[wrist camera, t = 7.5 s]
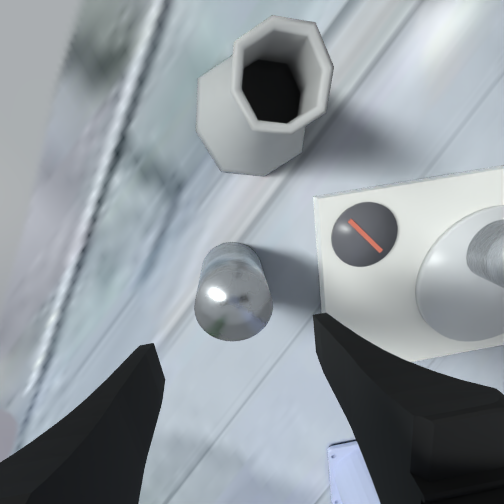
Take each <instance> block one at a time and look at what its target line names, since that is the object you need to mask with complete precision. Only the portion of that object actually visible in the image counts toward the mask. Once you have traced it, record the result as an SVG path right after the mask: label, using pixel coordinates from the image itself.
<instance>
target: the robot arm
mask: <svg viewBox="0 0 504 504" xmlns="http://www.w3.org/2000/svg"><path fill="white" fill-rule="evenodd" d="M313 321H314V333H315V345H316V353H317V356H318V359H319V362H320V364H321V367H322V370H323V372H324V374H325V376H326V378H327V380H328V382H329V384H330V386H331V388H332V390H333V392H334V394H335V396H336V398H337V400H338V402H339V404H340V406H341V408H342V410H343V412H344V414H345V415H346V417H347V420H348V422H349V424H350V426H351V428H352V431H353V433H354V436H355V438H356V441H354V442H349V443H344V444H339V445H334V446H330V447H329V448H328V450H327V453H328V465H329V478H330V490H331V502H332V504H504V395H503V394H502V393H501V392H500V391H498V390H497V389H495V388H491V387H487V386H483V385H480V384H476V383H472V382H468V381H464V380H460V379H457V378H453V377H450V376H447V375H444V374H441V373H438V372H435V371H432V370H429V369H426V368H424V367H421V366H419V365H416V364H414V363H411V362H409V361H406V360H404V359H402V358H400V357H398V356H396V355H394V354H391V353H389V352H387V351H385V350H383V349H382V348H380V347H378V346H376V345H374V344H373V343H371V342H369V341H367V340H366V339H364V338H363V337H361V336H359V335H358V334H356V333H355V332H353V331H352V330H350V329H349V328H347V327H346V326H344V325H343V324H342V323H340V322H339V321H337V320H336V319H335V318H333V317H332V316H330V315H329V314H328V313H321V314H315V315H313ZM164 384H165V377H164V374H163V371H162V368H161V365H160V362H159V358H158V355H157V352H156V349H155V346H154V343H151V344H146V345H140V346H139V347H138V348H137V349H136V350H135V351H134V352H133V353H132V354H131V355H130V356H129V357H128V358H127V359H126V360H125V361H124V362H123V363H122V364H121V365H120V366H119V367H118V368H117V369H116V370H115V371H114V372H113V373H112V374H111V376H110V377H109V378H108V379H107V380H106V381H104V382H103V383H102V384H101V385H100V386H99V387H98V388H97V389H96V390H95V391H94V392H93V393H92V394H91V395H90V396H89V397H88V398H87V399H85V400H84V401H83V402H82V403H81V404H80V405H79V406H77V407H76V408H75V409H74V410H73V411H72V412H70V413H69V414H68V415H67V416H65V417H64V418H63V419H62V420H60V421H59V422H58V423H57V424H55V425H54V426H52V427H51V428H50V429H48V430H47V431H46V432H44V433H43V434H42V435H40V436H39V437H38V438H36V439H35V440H33V441H32V442H31V443H29V444H28V445H26V446H25V447H23V448H22V449H20V450H19V451H17V452H16V453H14V454H13V455H11V456H10V457H8V458H7V459H5V460H3V461H2V462H0V504H138V502H139V496H140V490H141V485H142V479H143V473H144V468H145V464H146V460H147V455H148V452H149V448H150V445H151V441H152V437H153V434H154V430H155V427H156V423H157V419H158V415H159V412H160V408H161V404H162V399H163V392H164Z"/></svg>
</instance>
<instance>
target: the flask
mask: <svg viewBox="0 0 504 504" xmlns="http://www.w3.org/2000/svg"><path fill="white" fill-rule="evenodd" d="M333 70H334V66H333V63H332V61H331V59H330V56H329V54H328V51H327V49H326V47H325V44H324V42H323V39H322V37H321V34H320V32H319V30H318V27H317V25H316V22H310V21H304V20H298V19H292V18H286V17H280V16H275V15H272V16H270V17H269V18H267V19H266V20H264V21H263V22H261V23H260V24H259V25H257V26H256V27H254V28H253V29H251V30H250V31H248V32H247V33H245V34H244V35H243V36H241V37H240V38H238V39H237V40H235V41H234V44H233V55H231V56H230V57H228V58H227V59H226V60H224V61H223V62H221V63H220V64H218V65H217V66H215V67H214V68H212V69H211V70H209V71H208V72H206V73H205V74H204V75H202V76H201V77H199V78H198V85H197V112H196V132H197V134H198V135H199V137H200V139H201V140H202V142H203V143H204V145H205V147H206V148H207V150H208V151H209V153H210V155H211V156H212V158H213V160H214V161H215V163H216V164H217V166H218V168H219V169H220V171H221V172H227V173H237V174H247V175H257V176H265V175H267V174H269V173H270V172H272V171H273V170H275V169H277V168H278V167H280V166H281V165H283V164H285V163H286V162H288V161H289V160H291V159H293V158H294V157H296V156H297V155H299V154H301V153H302V148H303V141H304V134H305V128H306V125H308V124H310V123H311V122H313V121H314V120H316V119H317V118H319V117H321V116H322V115H324V114H325V113H326V111H327V105H328V99H329V93H330V87H331V81H332V76H333Z"/></svg>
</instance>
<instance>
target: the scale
mask: <svg viewBox="0 0 504 504" xmlns="http://www.w3.org/2000/svg"><path fill="white" fill-rule="evenodd" d="M313 202H314V216H315V230H316V243H317V257H318V271H319V284H320V298H321V312H322V313H328V314H329V315H330V316H332V317H333V318H335V319H336V320H337V321H339V322H340V323H342V324H343V325H344V326H346V327H347V328H349V329H350V330H352V331H353V332H355V333H356V334H358V335H359V336H361V337H363V338H364V339H366V340H367V341H369V342H371V343H373V344H374V345H376V346H378V347H380V348H382V349H383V350H385V351H387V352H389V353H391V354H394V355H396V356H398V357H400V358H402V359H404V360H406V361H409V362H415V361H420V360H425V359H431V358H436V357H441V356H447V355H452V354H457V353H463V352H468V351H474V350H479V349H484V348H490V347H495V346H500V345H504V288H502V287H500V286H498V285H496V284H494V283H492V282H490V281H488V280H485V279H483V278H481V277H479V276H477V275H475V274H474V273H472V272H471V270H470V269H469V268H468V265H467V262H466V253H467V249H468V246H469V244H470V242H471V240H472V238H473V237H474V236H475V235H476V233H477V232H478V231H479V230H480V229H482V228H483V227H484V226H486V225H487V224H489V223H491V222H494V221H497V220H501V219H504V165H502V166H496V167H490V168H484V169H478V170H472V171H465V172H459V173H453V174H447V175H441V176H435V177H429V178H423V179H416V180H410V181H404V182H398V183H392V184H386V185H380V186H374V187H367V188H361V189H355V190H349V191H343V192H337V193H331V194H324V195H318V196H313Z"/></svg>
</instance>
